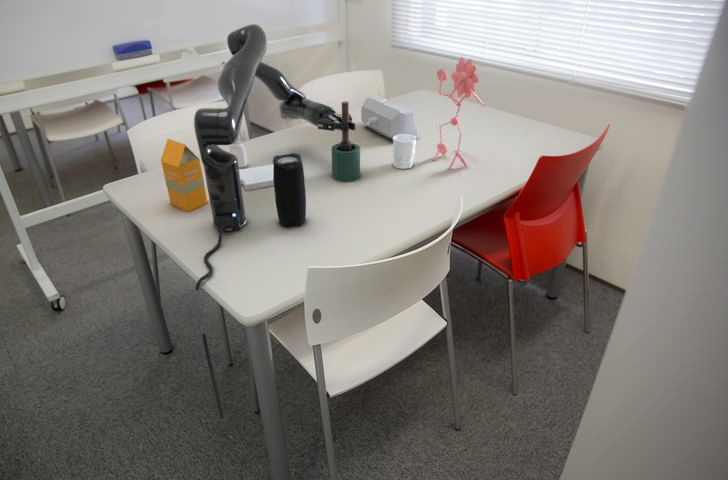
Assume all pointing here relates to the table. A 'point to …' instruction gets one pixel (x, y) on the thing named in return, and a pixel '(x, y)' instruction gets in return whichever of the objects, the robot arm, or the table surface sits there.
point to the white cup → (403, 150)
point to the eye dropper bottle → (239, 152)
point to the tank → (387, 117)
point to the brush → (345, 143)
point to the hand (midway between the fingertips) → (351, 128)
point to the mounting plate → (257, 177)
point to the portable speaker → (289, 189)
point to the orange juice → (183, 176)
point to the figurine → (463, 83)
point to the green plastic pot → (346, 163)
